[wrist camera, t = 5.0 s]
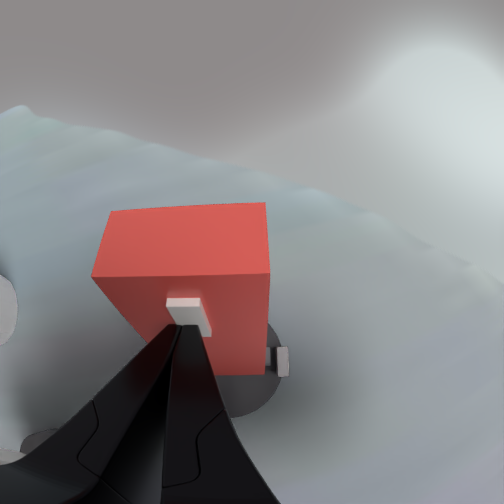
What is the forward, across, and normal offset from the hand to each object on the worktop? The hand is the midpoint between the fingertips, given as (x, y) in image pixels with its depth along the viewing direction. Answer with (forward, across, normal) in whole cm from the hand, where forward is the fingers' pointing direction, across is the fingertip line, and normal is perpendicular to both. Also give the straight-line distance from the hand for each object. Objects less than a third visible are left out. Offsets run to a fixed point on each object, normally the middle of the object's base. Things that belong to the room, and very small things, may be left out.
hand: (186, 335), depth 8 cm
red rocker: (+4, 0, +6) cm, 7 cm away
